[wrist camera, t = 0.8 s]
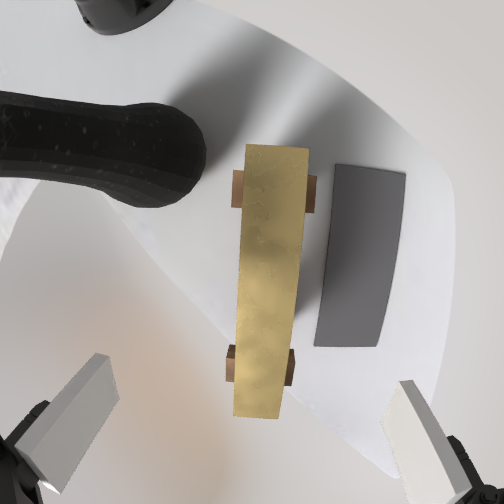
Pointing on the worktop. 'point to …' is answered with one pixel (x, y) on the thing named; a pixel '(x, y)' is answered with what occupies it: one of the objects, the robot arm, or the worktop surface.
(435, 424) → the robot arm
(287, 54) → the worktop surface
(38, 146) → the bottle
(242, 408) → the rail
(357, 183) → the mat
